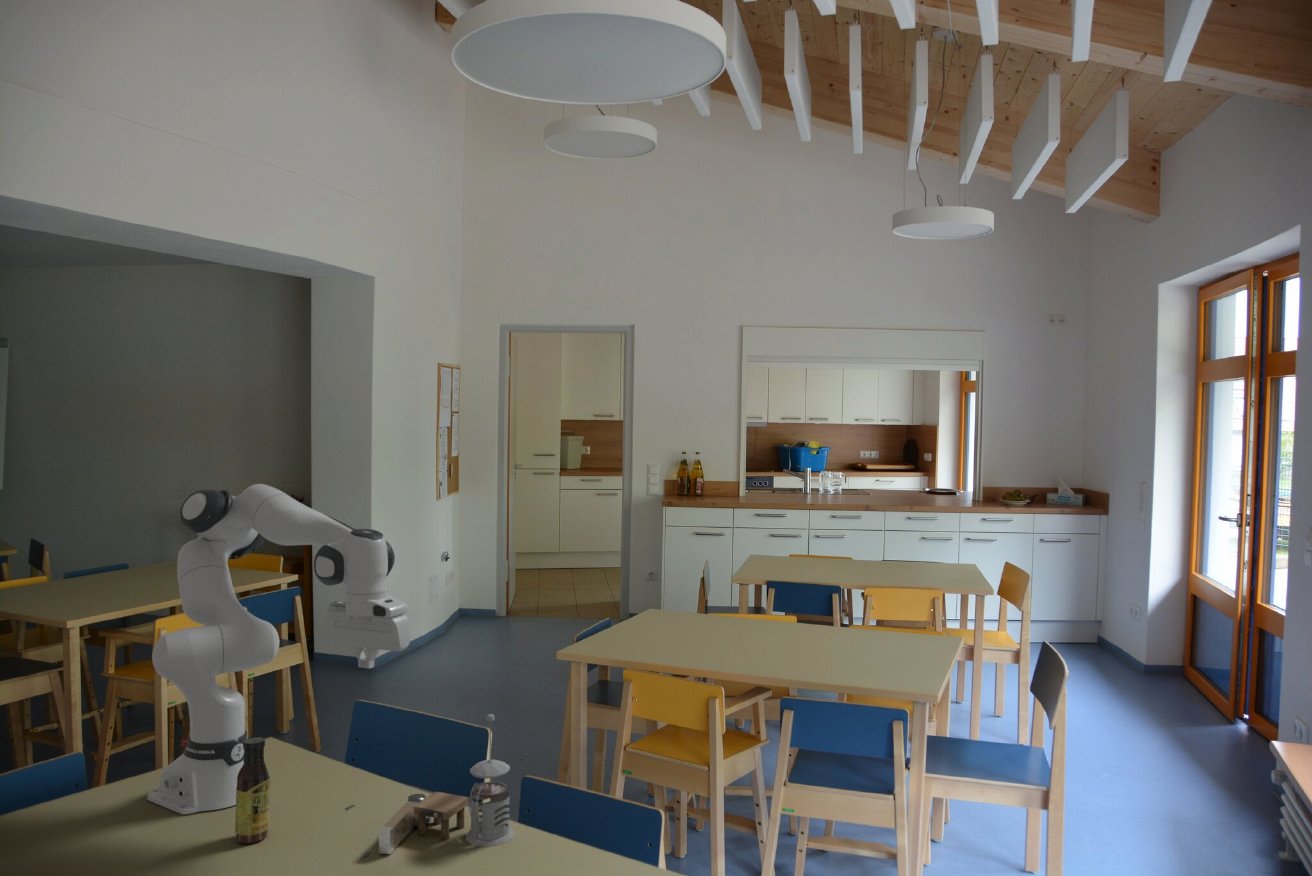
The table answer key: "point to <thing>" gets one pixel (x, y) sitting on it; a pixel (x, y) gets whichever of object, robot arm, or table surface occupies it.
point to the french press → (489, 803)
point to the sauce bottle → (252, 794)
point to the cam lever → (400, 825)
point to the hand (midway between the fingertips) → (366, 667)
